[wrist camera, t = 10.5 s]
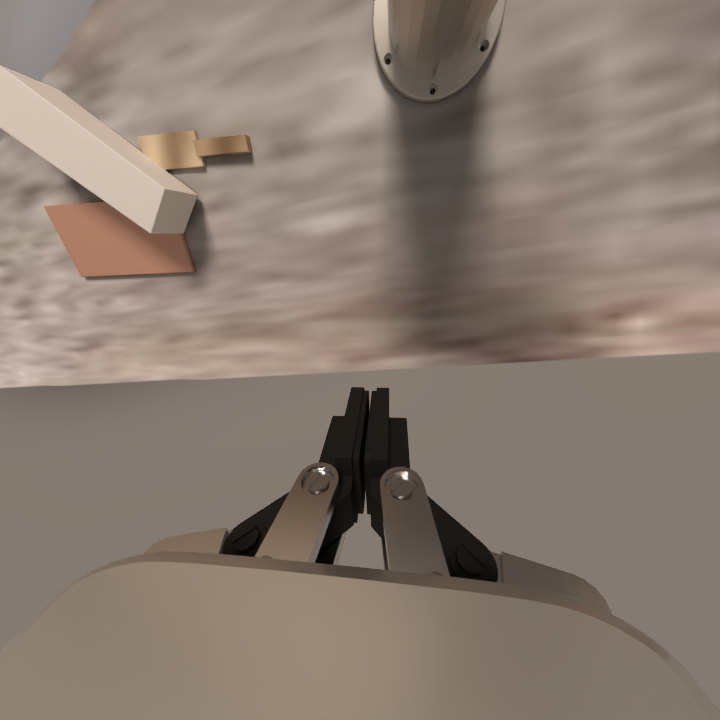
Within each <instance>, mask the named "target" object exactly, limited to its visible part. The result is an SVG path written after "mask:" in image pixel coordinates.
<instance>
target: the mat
mask: <svg viewBox="0 0 720 720" xmlns="http://www.w3.org/2000/svg"><path fill="white" fill-rule="evenodd" d="M45 209H46V211H47V213H48V215H49V217H50V219H51V221H52V223H53V224H54V226H55V228H56V230H57V232H58V234H59V236H60V238H61V240H62V241H63V243H64V245H65V247H66V249H67V251H68V253H69V255H70V256H71V258H72V260H73V262H74V264H75V266H76V268H77V270H78V272H79V273H80V275H81V277H86V276H109V275H132V274H154V273H177V272H194V271H195V268H194V265H193V262H192V259H191V256H190V253H189V250H188V247H187V244H186V241H185V238H184V235H183V234H151V233H149V232H147V231H146V230H145V229H143V228H142V227H140V226H139V225H137V224H136V223H135V222H133V221H132V220H130V219H129V218H128V217H126V216H125V215H123V214H122V213H120V212H119V211H118V210H116V209H115V208H113V207H112V206H111V205H109V204H108V203H106V202H94V203H82V204H70V205H58V206H45Z"/></svg>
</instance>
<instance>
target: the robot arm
mask: <svg viewBox="0 0 720 720" xmlns="http://www.w3.org/2000/svg"><path fill="white" fill-rule="evenodd" d="M505 3H506V0H374V3H373V22H372V23H373V36H374V43H375V49H376V54H377V57H378V60H379V63H380V66H381V68H382V70H383V72H384V74H385V76H386V78H387V79H388V81H389V82H390V83H391V85H392V86H393V87H394V88H395V89H396V90H397V91H398V92H400V93H401V94H402V95H403V96H405V97H407V98H409V99H411V100H414V101H419V102H436V101H439V100H443V99H446V98H448V97H450V96H451V95H453V94H455V93H457V92H458V91H459V90H461V89H462V88H463V87H464V86H465V85H467V84H468V83H469V82H470V80H471V79H472V78H473V77H474V76H475V75H476V74H477V72H478V71H479V69H480V68H481V66H482V65H483V63H484V62H485V60H486V59H487V57H488V55H489V53H490V52H491V50H492V48H493V45H494V43H495V40H496V38H497V35H498V33H499V30H500V27H501V23H502V19H503V15H504V11H505ZM482 47H483V48H484V52H481V50H480V48H482ZM388 60H390V62H391V63H390V64H389V65H387V64H386V62H387V61H388ZM431 90H434V91H435V93H434V94H433V95H432V94H431V93H430V91H431ZM365 492H366V498H367V499H366V500H367V514H371V526H372V528H373V529H374V530H375V531H376V532H377V534H378V535H379V536H380V537H381V546H382V556H383V566H384V570H381V569H371V568H360V567H351V566H341V565H337V564H338V560H339V557H340V553H341V550H342V546H343V543H344V540H345V534H346V531H347V530H348V529H349V528H351V527H352V526H353V525H354V522H355V523H357V519H358V513H360V514H363V511H364V502H365V501H364V500H365ZM0 720H720V710H719V709H718V708H717V707H716V705H715V704H714V703H713V701H712V700H711V699H710V697H709V696H708V695H707V693H706V692H705V691H704V690H703V689H702V687H701V686H700V685H699V684H698V683H697V681H696V680H695V679H694V678H693V677H692V675H691V674H690V673H689V672H688V671H687V670H686V669H685V667H684V666H683V665H682V664H681V663H680V662H679V661H678V660H676V658H675V657H674V656H673V655H672V654H671V653H669V652H668V651H667V650H666V649H665V648H664V647H663V646H661V645H660V644H659V643H657V642H656V641H654V640H653V639H652V638H651V637H649V636H648V635H646V634H645V633H643V632H642V631H640V630H639V629H637V628H635V627H634V626H632V625H631V624H629V623H627V622H626V621H624V620H622V619H620V618H618V617H616V616H614V615H613V614H612V613H611V610H610V609H609V607H608V605H607V603H606V601H605V599H604V598H603V597H602V595H601V594H600V593H599V592H598V591H597V590H596V588H594V587H593V586H592V585H591V584H589V583H588V582H587V581H586V580H584V579H582V578H580V577H578V576H576V575H573V574H571V573H567V572H564V571H561V570H558V569H555V568H552V567H548V566H545V565H542V564H539V563H536V562H533V561H530V560H527V559H523V558H520V557H517V556H514V555H510V554H508V553H504V552H501V555H500V554H497V553H494V552H490V551H489V550H488V549H487V547H486V546H485V545H484V544H483V543H482V542H480V541H479V540H478V539H477V538H476V537H475V536H473V535H472V534H471V533H470V532H469V531H468V530H467V529H465V528H464V527H463V526H462V525H461V524H460V523H458V522H457V521H456V520H455V519H454V518H453V517H451V516H450V515H449V514H448V513H447V512H446V511H444V510H443V509H442V508H441V507H440V506H439V505H438V504H436V503H435V502H434V501H433V500H432V499H431V498H430V497H428V496H427V494H426V490H425V487H424V484H423V481H422V479H421V477H420V476H419V475H418V474H417V473H416V472H415V471H413V470H411V469H410V462H409V448H408V433H407V419H406V418H389V388H377V391H372V396H371V404H370V411H369V391H364V388H361V387H359V388H357V387H352V388H351V392H350V396H349V400H348V405H347V408H346V413H345V416H333V417H332V420H331V423H330V427H329V430H328V433H327V437H326V440H325V443H324V447H323V450H322V453H321V457H320V460H319V463H314V464H311V465H309V466H307V467H306V468H305V469H303V470H302V471H301V473H300V474H299V476H298V477H297V479H296V481H295V483H294V485H293V487H292V488H291V490H290V492H289V493H287V494H285V495H284V496H282V497H281V498H279V499H278V500H276V501H274V502H273V503H271V504H270V505H268V506H267V507H265V508H264V509H262V510H260V511H259V512H257V513H256V514H254V515H253V516H251V517H250V518H248V519H246V520H245V521H243V522H242V523H240V524H239V525H238V526H237V527H235V528H234V529H233V530H227V528H221V529H215V530H208V531H202V532H197V533H190V534H183V535H177V536H171V537H167V538H164V539H161V540H160V541H158V542H157V543H155V544H154V545H152V546H151V547H150V548H149V549H148V550H147V551H146V552H145V553H144V554H140V555H135V556H132V557H128V558H124V559H121V560H117V561H115V562H111V563H108V564H106V565H103V566H101V567H98V568H96V569H94V570H92V571H90V572H88V573H86V574H84V575H83V576H81V577H79V578H78V579H76V580H74V581H73V582H72V583H70V584H69V585H68V586H67V587H65V588H64V589H63V590H61V592H59V593H58V594H57V595H56V596H55V597H54V598H52V599H51V600H50V601H49V602H48V603H47V604H46V605H45V606H44V607H43V608H42V609H41V610H40V611H39V612H38V613H37V614H36V615H35V616H34V617H33V618H32V619H31V620H30V621H29V622H28V623H27V624H26V625H25V626H24V627H23V628H22V629H21V631H19V632H18V633H17V634H16V635H15V637H14V638H13V639H12V640H11V641H10V642H9V643H8V644H7V645H6V646H5V647H4V648H3V649H2V650H1V652H0Z"/></svg>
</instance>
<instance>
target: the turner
mask: <svg viewBox="0 0 720 720" xmlns="http://www.w3.org/2000/svg"><path fill="white" fill-rule="evenodd" d="M137 138H138V141H139V144H140V147H141V150H142V153H143V154H144V155H146V156H147V157H148V158H150V159H151V160H152V161H154V162H155V163H156V164H158V165H159V166H160V167H162V168H163V169H164V170H174V169H186V168H198V167H206V164H205V161H204V157H214V156H225V155H236V154H246V153H252V149H251V144H250V139H249V136H247V135H238V136H228V137H219V138H210V139H200V140H199V138H198V134H197V132H196V131H194V130H193V131H184V132H175V133H166V134H157V135H148V136H139V137H137Z"/></svg>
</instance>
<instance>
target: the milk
mask: <svg viewBox="0 0 720 720" xmlns="http://www.w3.org/2000/svg"><path fill="white" fill-rule="evenodd" d="M0 128H1V129H3V130H4V131H6V132H7V133H9V134H10V135H11V136H13V137H14V138H16V139H17V140H18V141H20V142H21V143H23V144H24V145H26V146H27V147H28V148H30V149H31V150H33V151H34V152H35V153H37V154H38V155H40V156H41V157H43V158H44V159H45V160H47V161H48V162H50V163H51V164H52V165H54V166H55V167H57V168H58V169H60V170H61V171H62V172H64V173H65V174H67V175H68V176H69V177H71V178H72V179H74V180H75V181H77V182H78V183H79V184H81V185H82V186H84V187H85V188H86V189H88V190H89V191H91V192H92V193H94V194H95V195H96V196H98V197H99V198H101V199H102V200H103V201H105V202H106V203H108V204H109V205H111V206H112V207H113V208H115V209H116V210H118V211H119V212H120V213H122V214H123V215H125V216H126V217H128V218H129V219H130V220H132V221H133V222H135V223H136V224H137V225H139V226H140V227H142V228H143V229H145V230H146V231H147V232H149V233H151V234H183V233H184V232H185V229H186V226H187V224H188V221H189V218H190V215H191V213H192V210H193V207H194V205H195V202H196V199H197V196H198V195H197V194H196V193H195V192H193V191H192V190H191V189H189V188H188V187H187V186H185V185H184V184H183V183H181V182H180V181H179V180H177V179H176V178H175V177H173V176H172V175H171V174H169V173H168V172H167V171H166V170H164V169H163V168H162V167H160V166H159V165H158V164H156V163H155V162H154V161H152V160H151V159H150V158H148V157H147V156H146V155H144V154H143V153H142V152H140V151H139V150H138V149H136V148H135V147H134V146H133V145H131V144H130V143H129V142H127V141H126V140H125V139H123V138H122V137H121V136H119V135H118V134H117V133H115V132H114V131H113V130H111V129H110V128H109V127H107V126H106V125H105V124H103V123H102V122H101V121H100V120H98V119H97V118H96V117H94V116H93V115H92V114H90V113H89V112H88V111H86V110H85V109H84V108H82V107H81V106H80V105H78V104H77V103H76V102H74V101H73V100H72V99H70V98H69V97H68V96H67V95H65V94H64V93H63V92H61V91H60V90H57V89H55V88H53V87H50V86H48V85H46V84H43V83H41V82H38V81H36V80H34V79H31V78H29V77H27V76H24V75H22V74H20V73H17V72H15V71H13V70H10V69H8V68H5V67H3V66H1V65H0Z"/></svg>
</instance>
